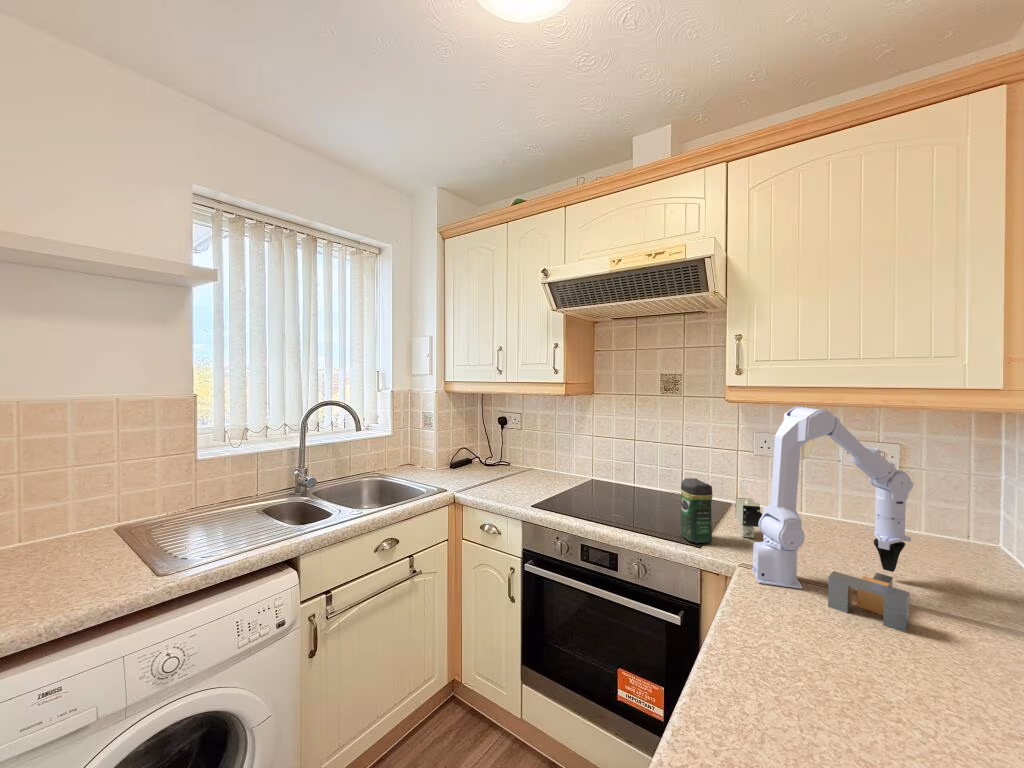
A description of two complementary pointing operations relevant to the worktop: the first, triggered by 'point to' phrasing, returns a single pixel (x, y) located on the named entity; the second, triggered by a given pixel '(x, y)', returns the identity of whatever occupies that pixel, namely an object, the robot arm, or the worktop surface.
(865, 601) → the plug
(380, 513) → the worktop surface
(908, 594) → the grey arch bracket
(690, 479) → the coffee jar
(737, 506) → the pneumatic valve
